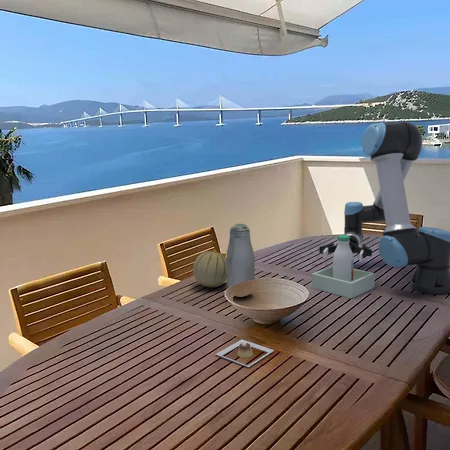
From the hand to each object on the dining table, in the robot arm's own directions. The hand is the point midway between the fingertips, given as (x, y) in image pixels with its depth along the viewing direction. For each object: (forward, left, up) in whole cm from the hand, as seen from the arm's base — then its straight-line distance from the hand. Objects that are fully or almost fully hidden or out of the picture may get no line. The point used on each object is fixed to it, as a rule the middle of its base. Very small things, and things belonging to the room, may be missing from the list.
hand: (342, 256), depth 180 cm
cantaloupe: (+41, +30, -14) cm, 53 cm away
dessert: (-9, +62, -14) cm, 64 cm away
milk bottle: (+1, -3, -13) cm, 13 cm away
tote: (+1, -3, -14) cm, 14 cm away
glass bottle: (+24, +30, -14) cm, 41 cm away
